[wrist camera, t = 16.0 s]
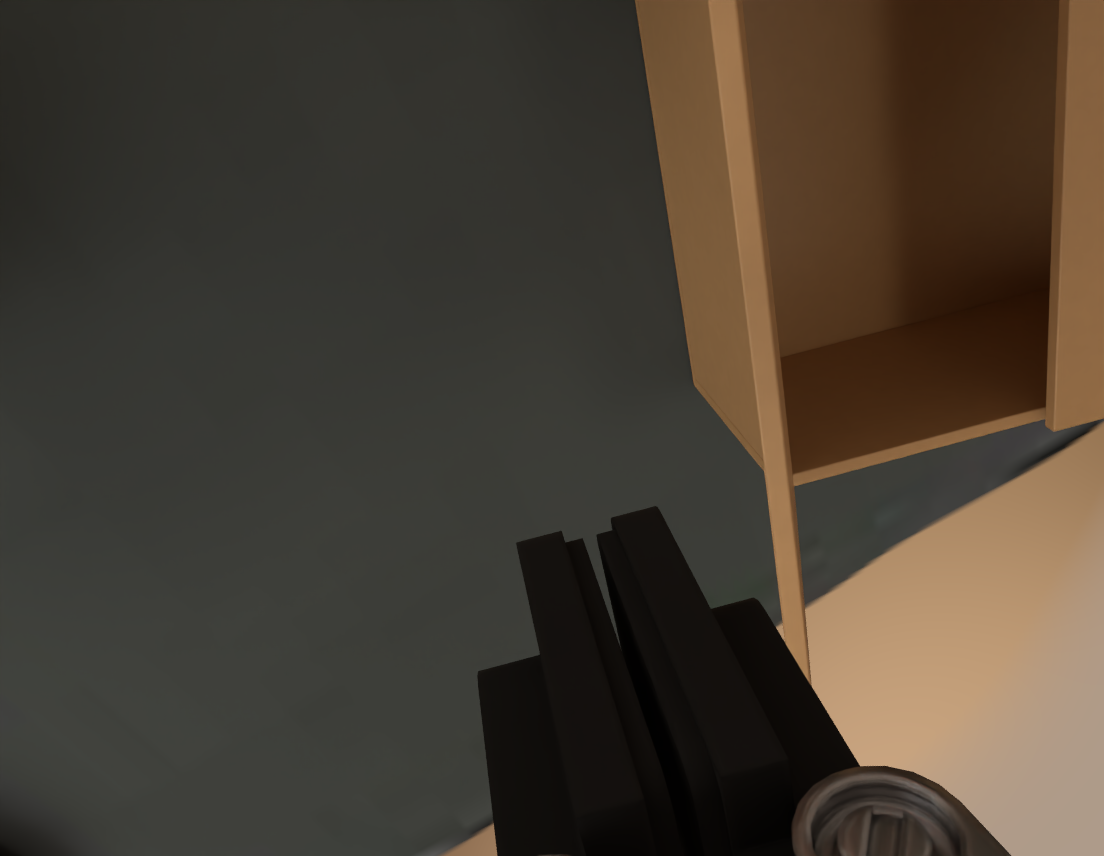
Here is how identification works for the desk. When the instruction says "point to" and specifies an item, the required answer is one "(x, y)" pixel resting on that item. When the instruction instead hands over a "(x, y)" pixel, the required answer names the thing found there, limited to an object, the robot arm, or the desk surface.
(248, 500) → the desk surface
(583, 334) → the desk surface
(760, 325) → the flap
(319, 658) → the desk surface
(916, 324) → the carton
